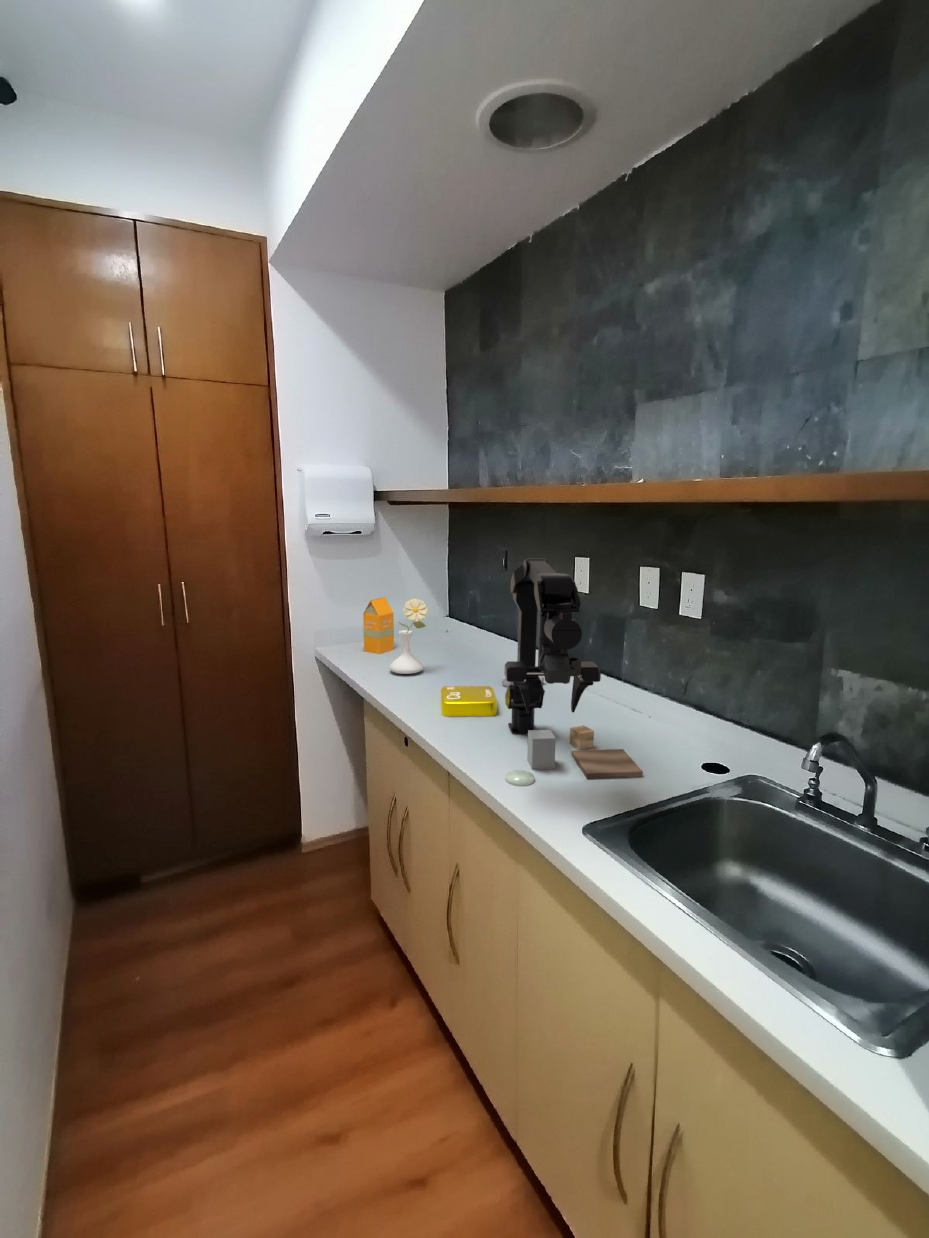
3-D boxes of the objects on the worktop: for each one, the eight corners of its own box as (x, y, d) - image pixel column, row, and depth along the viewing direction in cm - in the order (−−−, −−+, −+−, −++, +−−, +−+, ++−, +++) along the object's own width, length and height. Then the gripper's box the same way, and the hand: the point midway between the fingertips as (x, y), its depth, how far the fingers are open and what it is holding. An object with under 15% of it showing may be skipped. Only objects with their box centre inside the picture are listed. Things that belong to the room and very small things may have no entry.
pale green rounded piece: (503, 775, 132) (503, 770, 132) (530, 774, 133) (531, 769, 133) (507, 787, 126) (507, 783, 126) (536, 786, 127) (537, 782, 127)
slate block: (527, 760, 139) (528, 730, 138) (549, 759, 140) (550, 729, 138) (531, 769, 134) (532, 738, 133) (554, 768, 135) (555, 738, 133)
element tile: (497, 717, 167) (497, 700, 166) (441, 718, 166) (441, 700, 165) (492, 699, 182) (492, 684, 181) (440, 700, 181) (440, 684, 180)
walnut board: (571, 755, 142) (571, 750, 141) (622, 753, 143) (623, 748, 143) (586, 778, 130) (587, 773, 130) (642, 776, 131) (642, 771, 131)
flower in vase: (385, 676, 204) (384, 600, 199) (393, 666, 215) (392, 595, 210) (425, 677, 202) (424, 601, 197) (431, 668, 213) (430, 596, 209)
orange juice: (394, 649, 239) (393, 598, 235) (379, 654, 232) (378, 601, 228) (378, 646, 243) (377, 596, 240) (363, 651, 236) (362, 599, 232)
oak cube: (569, 743, 149) (570, 727, 148) (583, 741, 151) (583, 725, 150) (579, 749, 145) (580, 733, 145) (593, 746, 147) (594, 730, 146)
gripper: (510, 647, 116) (508, 726, 119) (609, 647, 117) (605, 726, 120) (505, 634, 127) (503, 707, 130) (595, 634, 128) (592, 706, 131)
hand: (550, 711), depth 127 cm, fingers open, 9 cm apart
